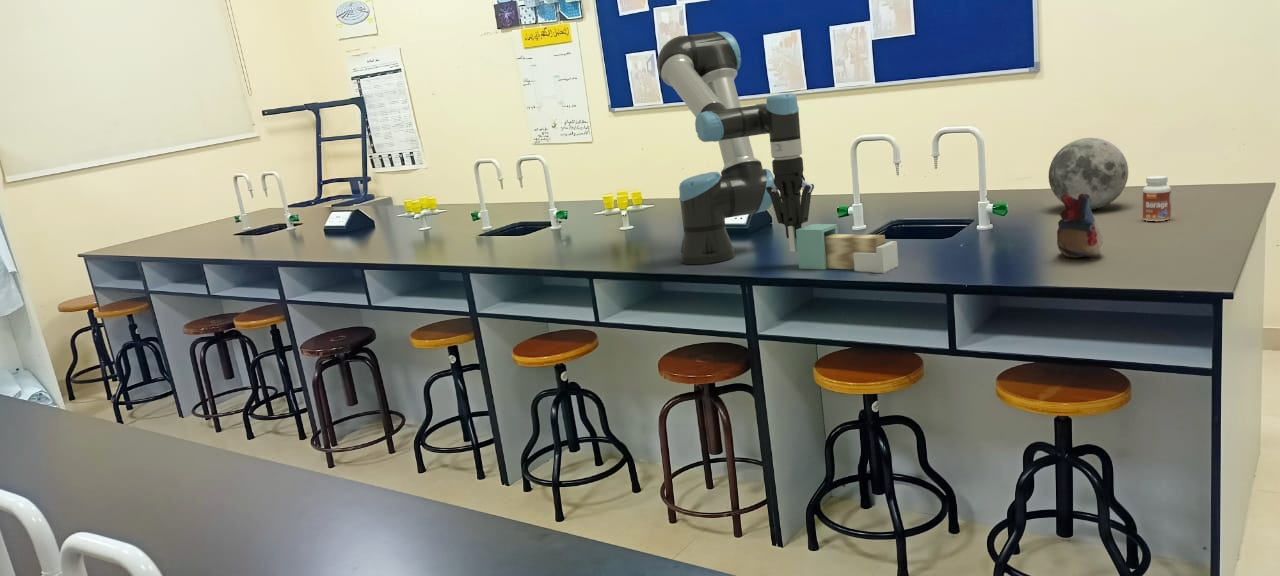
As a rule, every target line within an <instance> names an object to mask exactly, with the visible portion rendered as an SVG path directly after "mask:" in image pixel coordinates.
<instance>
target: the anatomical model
mask: <svg viewBox="0 0 1280 576" xmlns="http://www.w3.org/2000/svg"><path fill="white" fill-rule="evenodd" d="M1061 200H1062V202H1063V203H1062V202H1061V203H1062V204H1063V205H1064V207H1065V208H1064V209H1062V210H1061V211H1060V220H1059V221H1058V222H1057V224H1058V229H1057V231H1056V233H1057V234H1056V239H1057V241H1056V244H1057V249H1058V250H1059V252H1060V253H1061V254H1062V255H1063V256H1065V257H1067V258H1082V257H1083V258H1084V257H1089V258H1094V257H1098V256H1099V255H1101V251H1102V247H1103V244H1104V241H1103V235H1102V233H1101V229H1100V225H1099V224H1098V221H1097V220H1096V219H1095V216H1094V214H1093V211H1092V210H1091V208H1090V202H1091V197H1090V195H1088V194H1080V195H1079V196H1078V200H1077V199H1075V198H1073V197H1071V196H1070V195H1068V194H1063V195H1062V196H1061Z"/></svg>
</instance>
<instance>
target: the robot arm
mask: <svg viewBox="0 0 1280 576" xmlns="http://www.w3.org/2000/svg"><path fill="white" fill-rule="evenodd" d="M741 56H742V55H741V49H740V46H739V44H738V42H737V39H736V38H735V37H734V35H732V34H731V33H729V32H727V31H712V32H707V33H706V32H705V33H698V34H690V35H689V34H688V35H678V36H676V37H673V38H671V39H670V40H669V41H667V42H666V43H665V44H664V45H663V47H661V50H660V51H659V53H658V56H657V61H656V68H657V72H658V75H659V77H660V78H661V80H662V81H663V82H664V84H666V85H667V86H669V87H671V88H673V90H675V92H676V94H677V95H678V96H679V98H680V99H681V100H682V101H683V103H685V105H686V106H687V108H688V109H689V110H690V112H691V114H693V116H694V117H695V121H694V126H695V132H696V133H697V138H698V139H699V140H700V141H701V142H704V143H709V142H714V143H716V142H718V146H719V149H720V153H721V157H722V161H723V165H724V166H723V168H722V169H721V171H720V172H718V171H710V172H706V173H700V174H696V175H694V176H690V177H687V178H685V179H684V180H682V181H681V182H680V184H679V185H678V186H679V187H678V189H679V196H678V197H679V202H680V210H681V219H682V226H683V236H682V237H683V239H682V243H681V251H680V253H679V254H680V255H679V256H680V262H681V263H682V264H686V265H707V264H714V263H715V264H716V263H720V262H724V261H728V260H731V259H733V258H735V256H736V253H735V247H734V245H733V244H732V240H731V238H730V236H729V234H728V231H727V229H726V228H727V227H726V219H729V218H734V217H740V216H745V215H752V214H753V215H757V213H761V212H766V211H768V210H770V208H771V207H773V209H774V212H775V213H774V214H775V216H776V219H777V224H782V225H784V227H785V237H786V239H788V241H789V252H791V253H796V252H797V253H798V248H797V236H796V229H799V228H802V225H803V224H804V223H806V222H808V221H809V216H810V205H811V198H812V193H813V192H814V191H813V190H814V188H815V184H814V183H811V184H810V183H808V181H806V178H805V175H804V159H803V157H802V156H801V155H803V148H802V147H803V146H802V138H801V126H800V125H801V124H800V115H799V113H800V112H799V111H800V110H799V109H800V107H799V104H798V97H797V95H796V94H795V93H792V92H791V93H783V94H776V95H769V96H767V98H766V102H765V103H758V104H754V105H753V104H752V105H747V106H746V105H745V106H741V103H740V98H739V95H738V92H737V87H736V84H735V79H736V77H737V76H738V70H740V67H741V63H742V58H741ZM766 134H769V142H770V143H769V144H770V153H771V154H770V155H771V157H772V159H773V160H772V161H771V164H772V171H771V170H770V169H767V168H763V164H762V162H761V160H759V159H757V158H755V155H754V152H753V148H752V145H751V141H750V138H749V137H753V136H760V135H766ZM801 191H802V192H801Z"/></svg>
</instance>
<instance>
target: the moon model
mask: <svg viewBox="0 0 1280 576" xmlns="http://www.w3.org/2000/svg"><path fill="white" fill-rule="evenodd" d="M1128 179H1129V165H1128V162H1127V158H1126V157H1125V155H1124V154H1123V152H1122V151H1121V149H1120V148H1118V147H1117V146H1116V145H1115V144H1113V143H1111V142H1110V141H1108V140H1105V139H1103V138H1102V139H1101V138H1097V137H1084V138H1079V139H1076V140H1073V141H1071V142H1069V143H1068V144H1066V145H1064V146H1063V147H1062V148H1060V150H1058V152H1057V153H1056V154H1055V155H1054V157H1053V158H1052V160H1051V162H1050V165H1049V169H1048V183H1049V187H1050V189H1051V191H1052V193H1053V194H1054V196H1055V197H1056V199H1058V200H1059V201H1060V202H1061V203H1062V204H1064V203H1063V202H1062V200H1061V196H1062V195H1063V194H1068V195H1070V196H1071V197H1073V198H1075V199H1077V200H1078V196H1079V195H1080V194H1088V195H1090V197H1091V202H1090V208H1091V209H1093V210H1097V209H1096V208H1098V209H1100V208H1104V207H1105V206H1108V205H1110V204H1111V203H1112V202H1114V201H1115V200H1116V199H1118V197H1119V196H1120V195H1121V194H1122V193H1123V191H1124V190H1125V187H1126V185H1127V183H1128Z"/></svg>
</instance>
